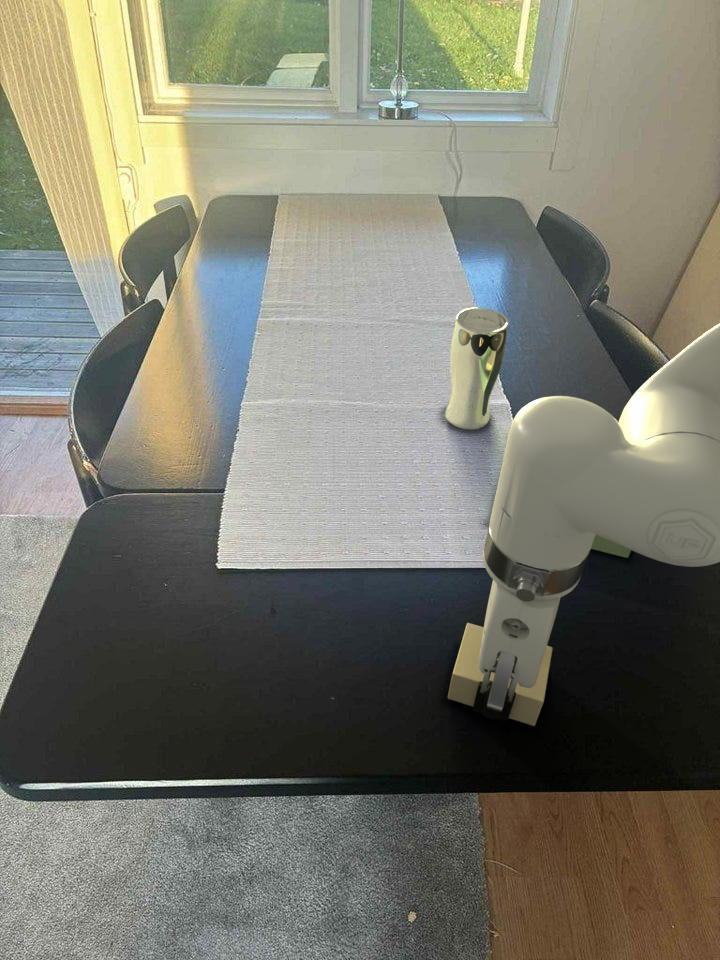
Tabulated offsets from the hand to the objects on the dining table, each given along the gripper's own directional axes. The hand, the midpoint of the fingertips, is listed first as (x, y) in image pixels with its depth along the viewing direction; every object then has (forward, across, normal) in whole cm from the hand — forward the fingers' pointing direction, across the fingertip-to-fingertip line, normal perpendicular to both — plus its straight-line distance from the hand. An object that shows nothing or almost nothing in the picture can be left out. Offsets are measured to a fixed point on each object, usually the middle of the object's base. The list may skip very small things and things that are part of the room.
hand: (497, 681), depth 65 cm
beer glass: (+1, +41, +12) cm, 43 cm away
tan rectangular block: (+1, 0, 0) cm, 1 cm away
